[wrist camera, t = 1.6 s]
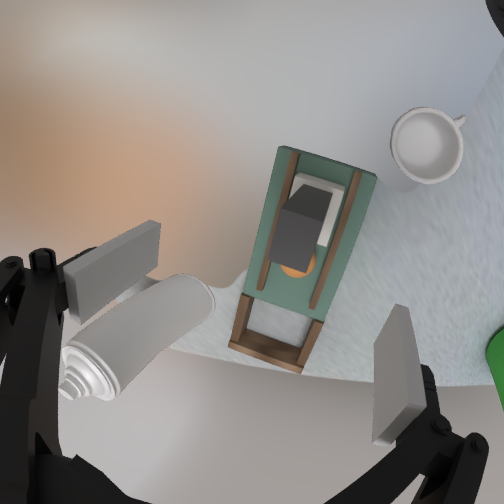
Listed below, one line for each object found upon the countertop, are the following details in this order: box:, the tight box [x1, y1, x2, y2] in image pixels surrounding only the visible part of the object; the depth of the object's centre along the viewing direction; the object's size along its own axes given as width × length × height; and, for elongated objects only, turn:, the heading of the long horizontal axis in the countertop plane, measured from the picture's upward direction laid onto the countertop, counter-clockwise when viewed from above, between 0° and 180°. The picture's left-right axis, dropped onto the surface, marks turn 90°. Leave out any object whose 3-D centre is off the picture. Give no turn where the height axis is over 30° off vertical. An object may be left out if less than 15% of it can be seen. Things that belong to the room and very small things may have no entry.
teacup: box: [390, 107, 467, 184], centre depth 27 cm, size 10×8×5 cm
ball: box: [280, 253, 316, 278], centre depth 34 cm, size 4×4×4 cm
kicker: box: [267, 172, 345, 273], centre depth 27 cm, size 5×6×13 cm
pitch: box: [243, 146, 377, 322], centre depth 36 cm, size 11×19×3 cm, turn 167°
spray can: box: [58, 274, 215, 401], centre depth 37 cm, size 12×11×25 cm
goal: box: [228, 293, 324, 374], centre depth 42 cm, size 11×9×4 cm
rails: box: [256, 151, 362, 310], centre depth 34 cm, size 8×17×1 cm, turn 167°
